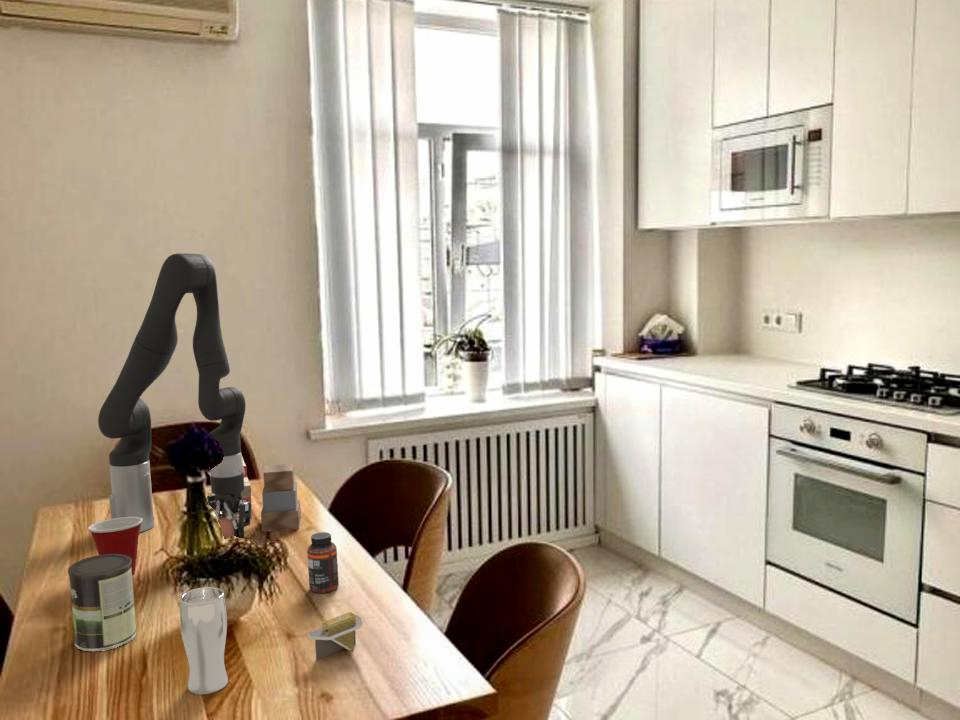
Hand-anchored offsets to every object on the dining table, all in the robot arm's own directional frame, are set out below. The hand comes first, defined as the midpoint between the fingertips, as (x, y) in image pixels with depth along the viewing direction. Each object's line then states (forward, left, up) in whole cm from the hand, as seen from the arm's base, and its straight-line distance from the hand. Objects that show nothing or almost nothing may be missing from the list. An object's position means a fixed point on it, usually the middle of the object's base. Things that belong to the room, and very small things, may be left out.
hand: (231, 540), depth 194 cm
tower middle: (+11, +11, +4) cm, 16 cm away
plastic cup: (-21, -16, -1) cm, 26 cm away
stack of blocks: (-2, +27, -1) cm, 27 cm away
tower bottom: (+11, +11, -1) cm, 16 cm away
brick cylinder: (0, 0, -1) cm, 1 cm away
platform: (+26, -60, -1) cm, 66 cm away
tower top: (+11, +11, +9) cm, 18 cm away
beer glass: (+6, -67, -1) cm, 67 cm away
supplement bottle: (+23, -32, -1) cm, 39 cm away
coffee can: (-15, -47, -1) cm, 49 cm away
